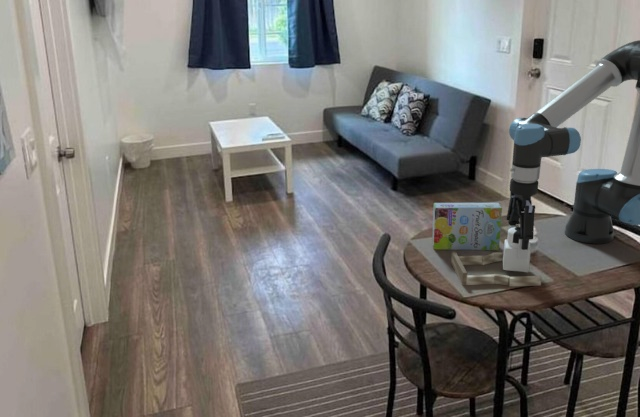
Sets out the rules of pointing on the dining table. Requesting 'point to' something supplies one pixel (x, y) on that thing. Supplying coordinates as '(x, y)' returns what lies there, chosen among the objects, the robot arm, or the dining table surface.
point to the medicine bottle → (514, 252)
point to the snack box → (466, 226)
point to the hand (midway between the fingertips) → (516, 251)
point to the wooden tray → (488, 279)
